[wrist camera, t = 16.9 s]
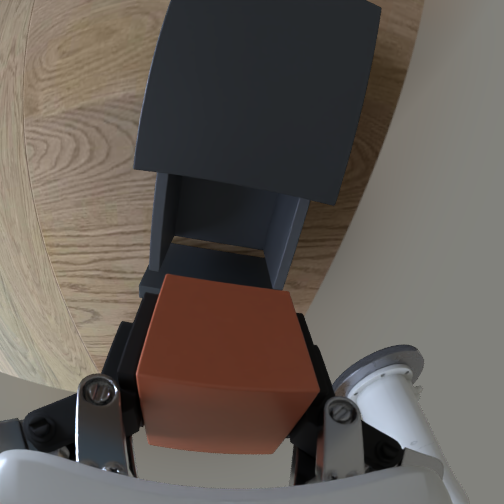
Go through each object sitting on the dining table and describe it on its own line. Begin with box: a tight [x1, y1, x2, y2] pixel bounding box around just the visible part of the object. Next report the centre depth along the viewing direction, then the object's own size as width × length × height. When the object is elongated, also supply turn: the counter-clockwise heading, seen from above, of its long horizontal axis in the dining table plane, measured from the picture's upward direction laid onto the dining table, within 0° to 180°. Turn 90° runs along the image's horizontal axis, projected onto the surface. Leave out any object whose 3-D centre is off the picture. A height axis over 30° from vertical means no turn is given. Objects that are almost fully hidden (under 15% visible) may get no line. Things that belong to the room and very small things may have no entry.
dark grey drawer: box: [139, 172, 310, 298], centre depth 23 cm, size 18×11×8 cm, turn 168°
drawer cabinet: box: [133, 0, 381, 206], centre depth 17 cm, size 15×13×10 cm
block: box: [136, 274, 320, 454], centre depth 9 cm, size 5×5×5 cm
